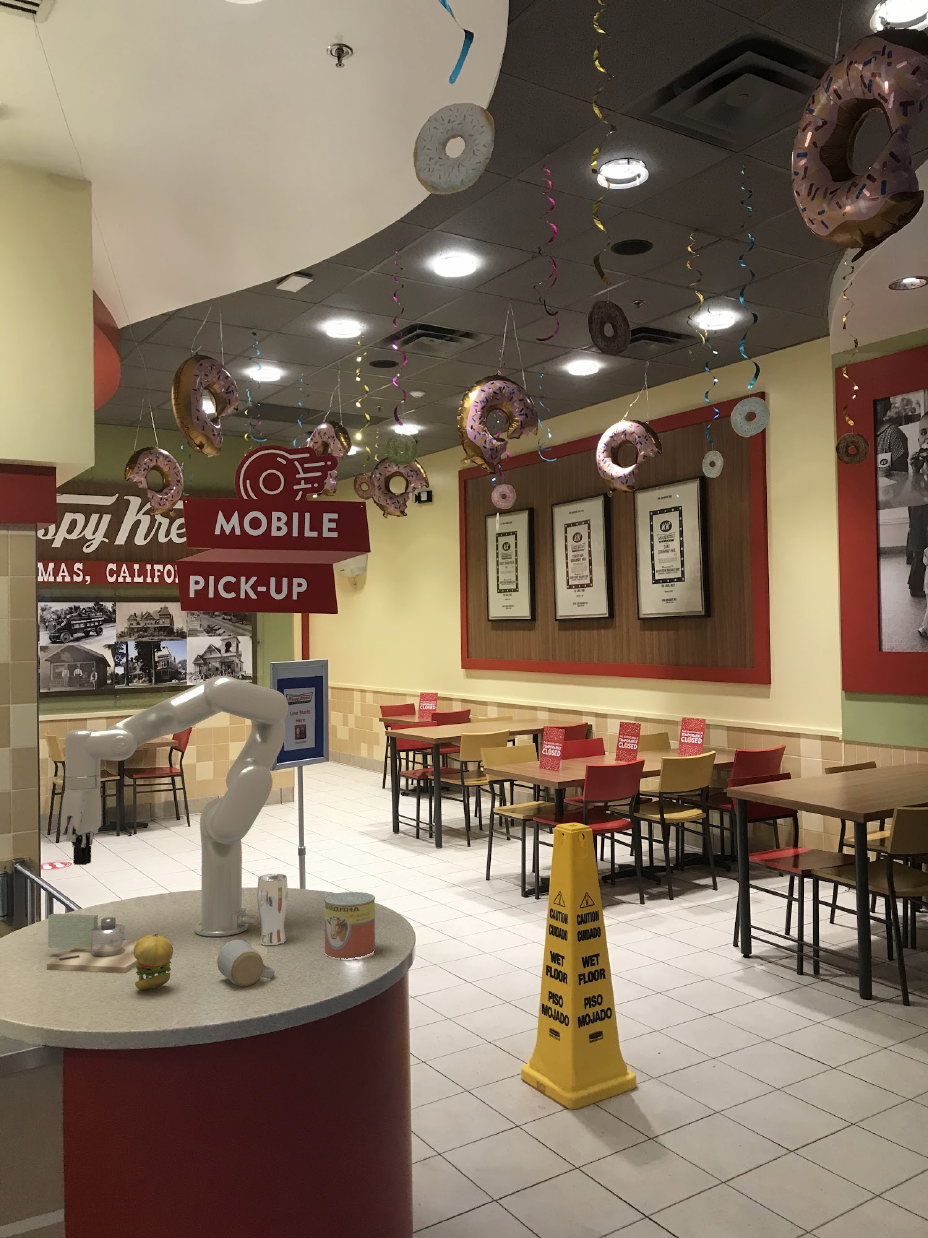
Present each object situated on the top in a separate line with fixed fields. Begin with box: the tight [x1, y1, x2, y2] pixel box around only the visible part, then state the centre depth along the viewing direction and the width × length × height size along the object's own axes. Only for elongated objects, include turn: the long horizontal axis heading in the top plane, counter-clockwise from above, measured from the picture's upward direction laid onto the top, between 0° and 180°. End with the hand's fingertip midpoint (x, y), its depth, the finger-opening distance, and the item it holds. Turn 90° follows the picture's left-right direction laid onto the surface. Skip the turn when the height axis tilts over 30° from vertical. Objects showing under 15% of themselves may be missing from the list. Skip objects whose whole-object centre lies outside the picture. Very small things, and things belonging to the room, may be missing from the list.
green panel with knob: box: [47, 913, 126, 956], centre depth 210 cm, size 18×7×8 cm, turn 81°
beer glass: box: [256, 873, 289, 946], centre depth 220 cm, size 7×7×15 cm
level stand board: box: [46, 939, 139, 974], centre depth 209 cm, size 18×18×2 cm
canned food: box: [324, 891, 376, 959], centre depth 212 cm, size 11×11×12 cm
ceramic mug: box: [216, 939, 275, 987], centre depth 194 cm, size 11×8×8 cm
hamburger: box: [133, 931, 174, 991], centre depth 189 cm, size 8×7×12 cm
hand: (82, 863), depth 218 cm, fingers closed
